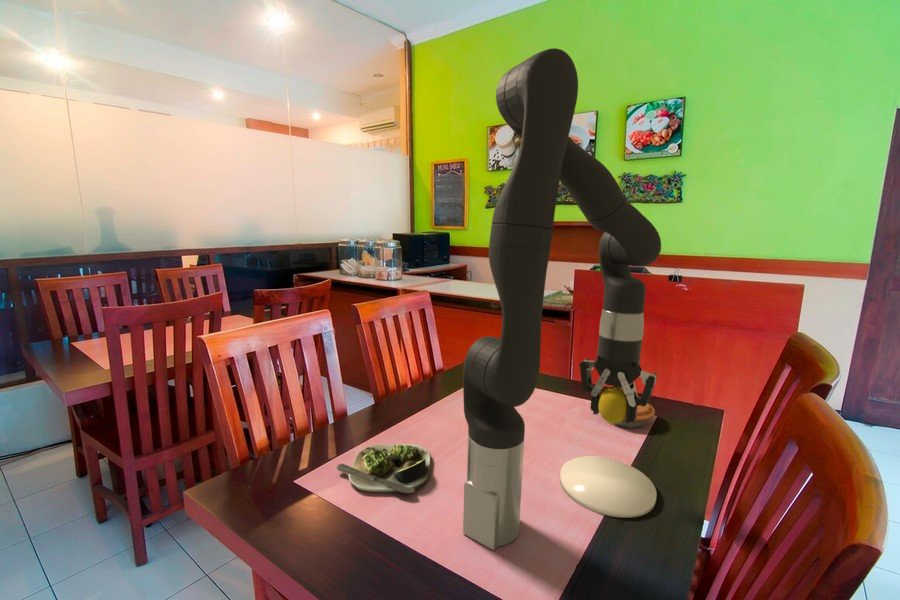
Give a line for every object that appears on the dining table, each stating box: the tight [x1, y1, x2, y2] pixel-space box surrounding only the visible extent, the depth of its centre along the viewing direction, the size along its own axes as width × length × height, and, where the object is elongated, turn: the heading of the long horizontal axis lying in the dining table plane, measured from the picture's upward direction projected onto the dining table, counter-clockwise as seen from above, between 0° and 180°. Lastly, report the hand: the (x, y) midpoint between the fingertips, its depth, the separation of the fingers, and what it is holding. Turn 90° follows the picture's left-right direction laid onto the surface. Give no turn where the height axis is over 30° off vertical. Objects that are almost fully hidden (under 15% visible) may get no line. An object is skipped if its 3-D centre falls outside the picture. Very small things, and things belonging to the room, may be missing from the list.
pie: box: [614, 402, 656, 428], centre depth 113 cm, size 16×16×5 cm
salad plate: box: [336, 443, 432, 494], centre depth 87 cm, size 19×18×5 cm
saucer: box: [559, 455, 657, 519], centre depth 83 cm, size 18×18×1 cm
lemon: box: [598, 385, 629, 426], centre depth 80 cm, size 6×6×8 cm
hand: (612, 417), depth 81 cm, fingers closed on lemon, 5 cm apart
